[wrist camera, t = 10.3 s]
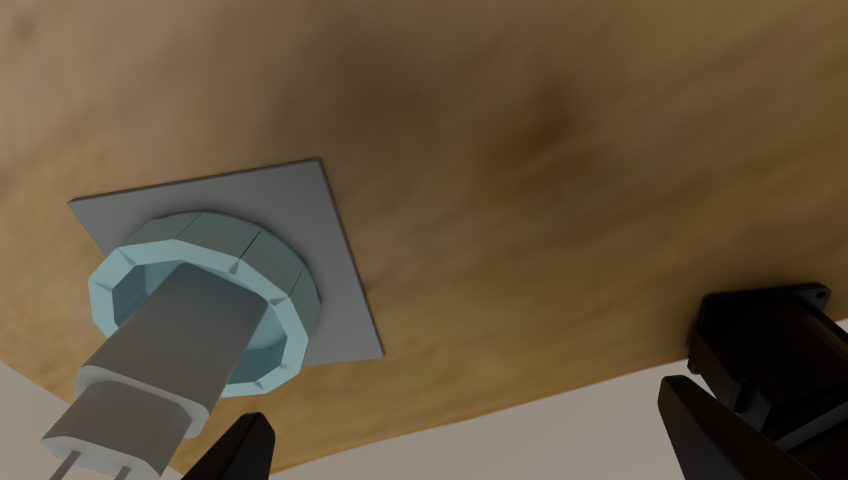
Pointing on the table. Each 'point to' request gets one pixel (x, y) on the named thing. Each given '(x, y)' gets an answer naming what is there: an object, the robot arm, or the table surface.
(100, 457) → the power adapter
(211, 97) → the table surface
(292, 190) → the mat
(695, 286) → the table surface
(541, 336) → the table surface
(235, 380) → the bowl
